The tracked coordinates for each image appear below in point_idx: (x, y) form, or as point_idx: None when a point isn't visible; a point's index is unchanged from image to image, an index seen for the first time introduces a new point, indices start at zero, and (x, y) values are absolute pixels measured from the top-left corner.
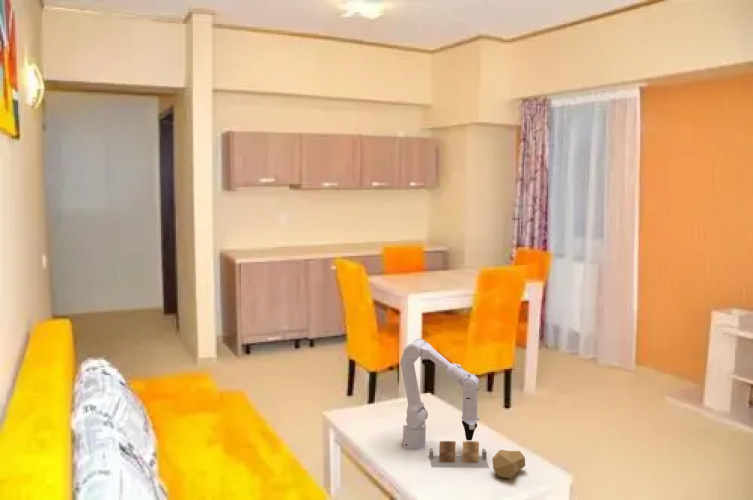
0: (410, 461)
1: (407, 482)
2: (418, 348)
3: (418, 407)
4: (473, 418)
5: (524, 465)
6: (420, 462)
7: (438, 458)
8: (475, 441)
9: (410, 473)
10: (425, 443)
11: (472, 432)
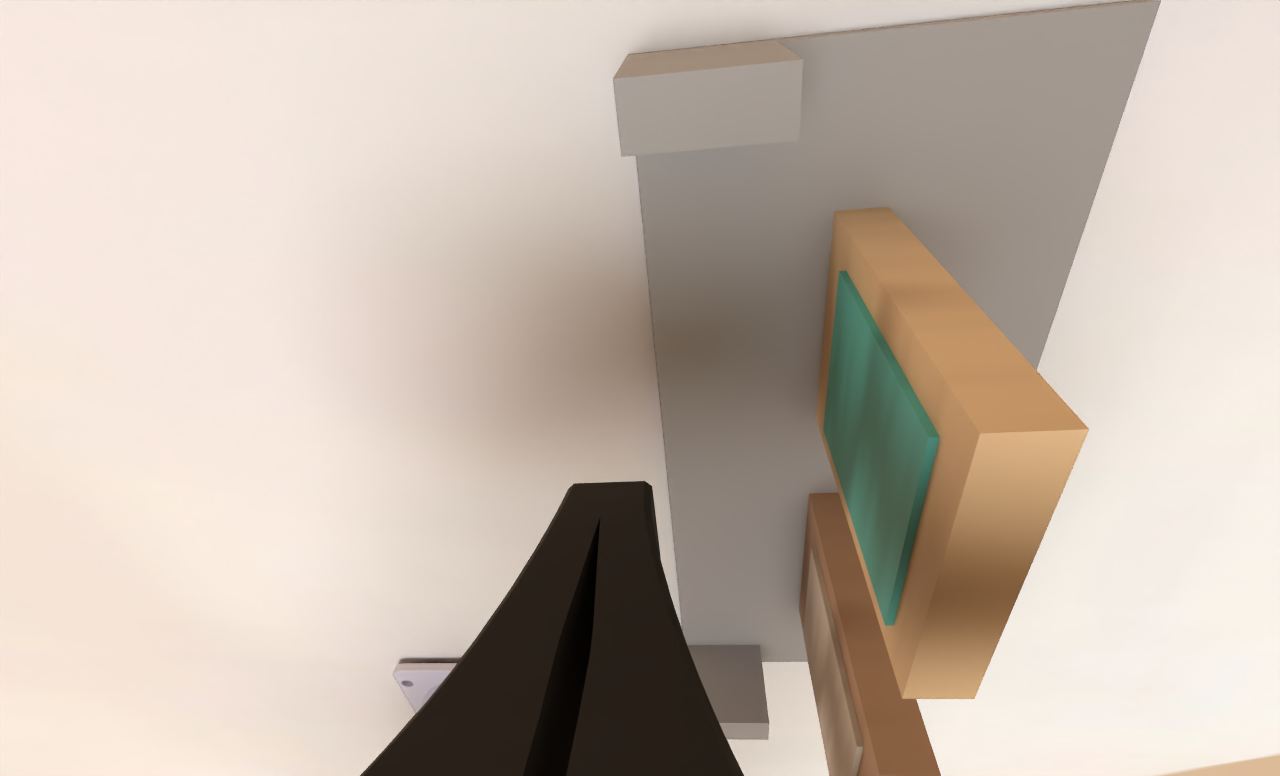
0: (781, 737)
1: (1138, 761)
2: None
3: None
4: None
5: None
6: (801, 696)
7: (749, 611)
8: (972, 505)
9: (992, 745)
10: (437, 673)
11: (665, 677)
